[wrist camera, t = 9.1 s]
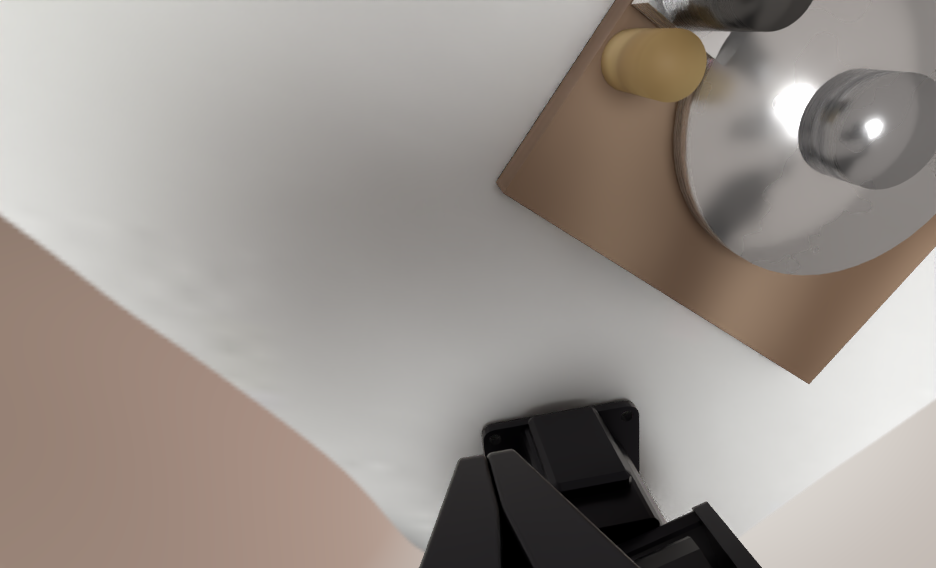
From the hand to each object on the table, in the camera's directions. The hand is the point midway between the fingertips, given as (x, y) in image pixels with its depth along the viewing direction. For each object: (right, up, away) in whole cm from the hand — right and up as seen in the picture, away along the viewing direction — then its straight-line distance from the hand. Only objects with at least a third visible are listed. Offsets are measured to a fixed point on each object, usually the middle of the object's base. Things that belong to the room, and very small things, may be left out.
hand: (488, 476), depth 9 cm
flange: (+10, +9, +10) cm, 17 cm away
